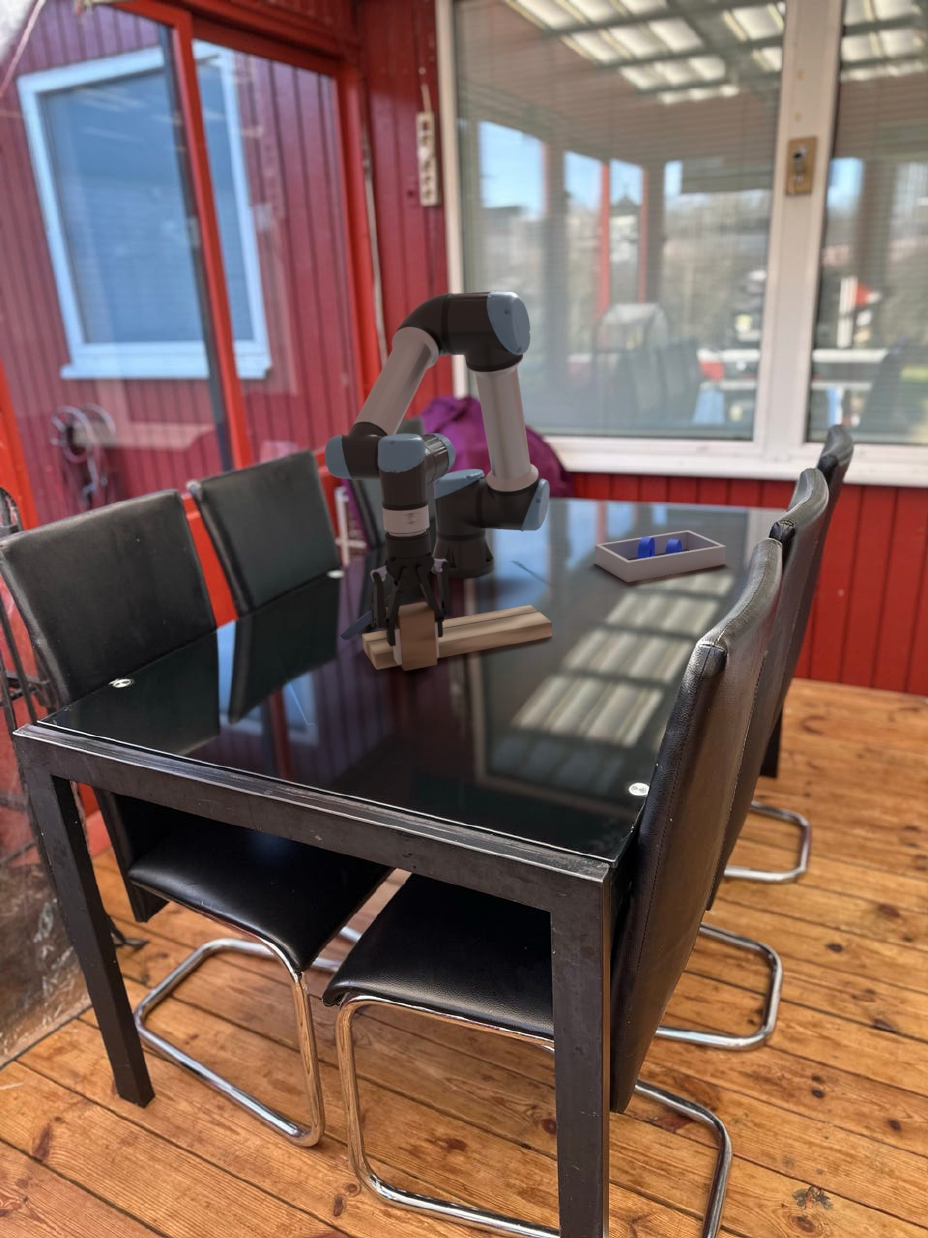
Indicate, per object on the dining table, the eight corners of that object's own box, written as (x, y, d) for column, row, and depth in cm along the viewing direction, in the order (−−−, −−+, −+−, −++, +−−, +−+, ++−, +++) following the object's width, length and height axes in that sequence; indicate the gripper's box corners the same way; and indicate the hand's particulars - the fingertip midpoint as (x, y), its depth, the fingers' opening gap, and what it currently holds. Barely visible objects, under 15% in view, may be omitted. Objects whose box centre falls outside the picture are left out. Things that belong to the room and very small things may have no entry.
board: (363, 649, 165) (361, 634, 164) (530, 619, 175) (530, 604, 174) (376, 669, 156) (375, 653, 155) (551, 636, 166) (551, 621, 165)
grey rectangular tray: (594, 563, 206) (594, 544, 204) (687, 548, 213) (688, 530, 212) (627, 582, 193) (627, 562, 191) (724, 565, 200) (726, 546, 199)
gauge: (378, 635, 168) (374, 585, 164) (408, 630, 169) (405, 580, 166) (404, 670, 152) (399, 616, 148) (437, 664, 154) (433, 611, 150)
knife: (387, 611, 184) (385, 588, 183) (397, 612, 184) (396, 589, 182) (335, 652, 163) (333, 626, 161) (347, 653, 162) (345, 627, 160)
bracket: (673, 583, 198) (674, 544, 195) (637, 579, 202) (637, 541, 199) (692, 559, 213) (694, 523, 210) (658, 556, 217) (659, 521, 213)
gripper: (356, 544, 140) (369, 676, 149) (468, 527, 146) (475, 656, 154) (345, 532, 147) (358, 659, 155) (454, 517, 152) (460, 641, 161)
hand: (416, 657), depth 155 cm, fingers closed on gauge, 6 cm apart
